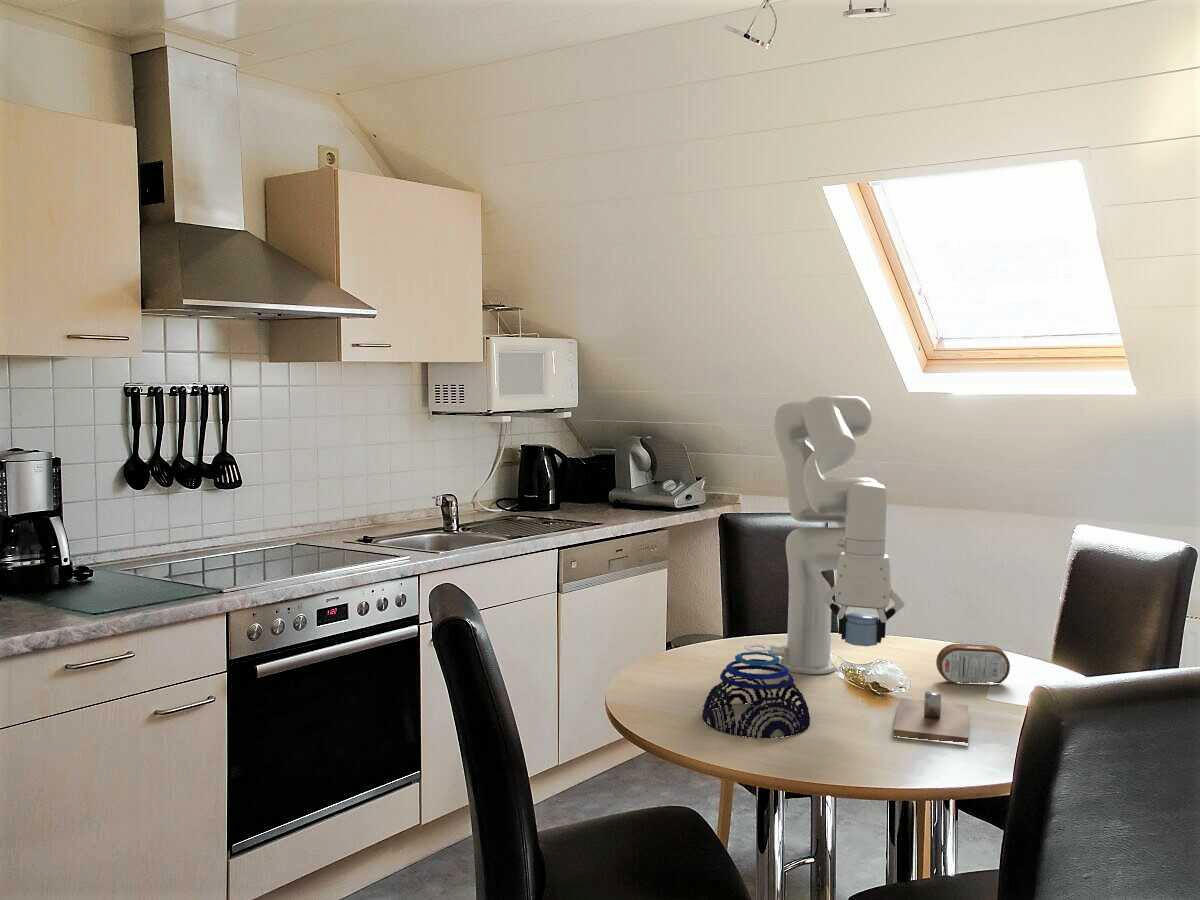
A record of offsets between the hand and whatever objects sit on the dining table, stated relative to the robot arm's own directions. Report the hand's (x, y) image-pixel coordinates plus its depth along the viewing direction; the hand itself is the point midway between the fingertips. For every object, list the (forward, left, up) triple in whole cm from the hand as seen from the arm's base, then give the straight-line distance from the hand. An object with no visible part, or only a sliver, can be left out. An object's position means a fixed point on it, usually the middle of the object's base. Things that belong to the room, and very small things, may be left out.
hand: (861, 638), depth 211 cm
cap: (0, 0, -1) cm, 1 cm away
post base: (+14, 0, -15) cm, 20 cm away
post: (+14, 0, -14) cm, 19 cm away
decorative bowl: (-18, -10, -16) cm, 26 cm away
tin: (+21, +31, -16) cm, 40 cm away
